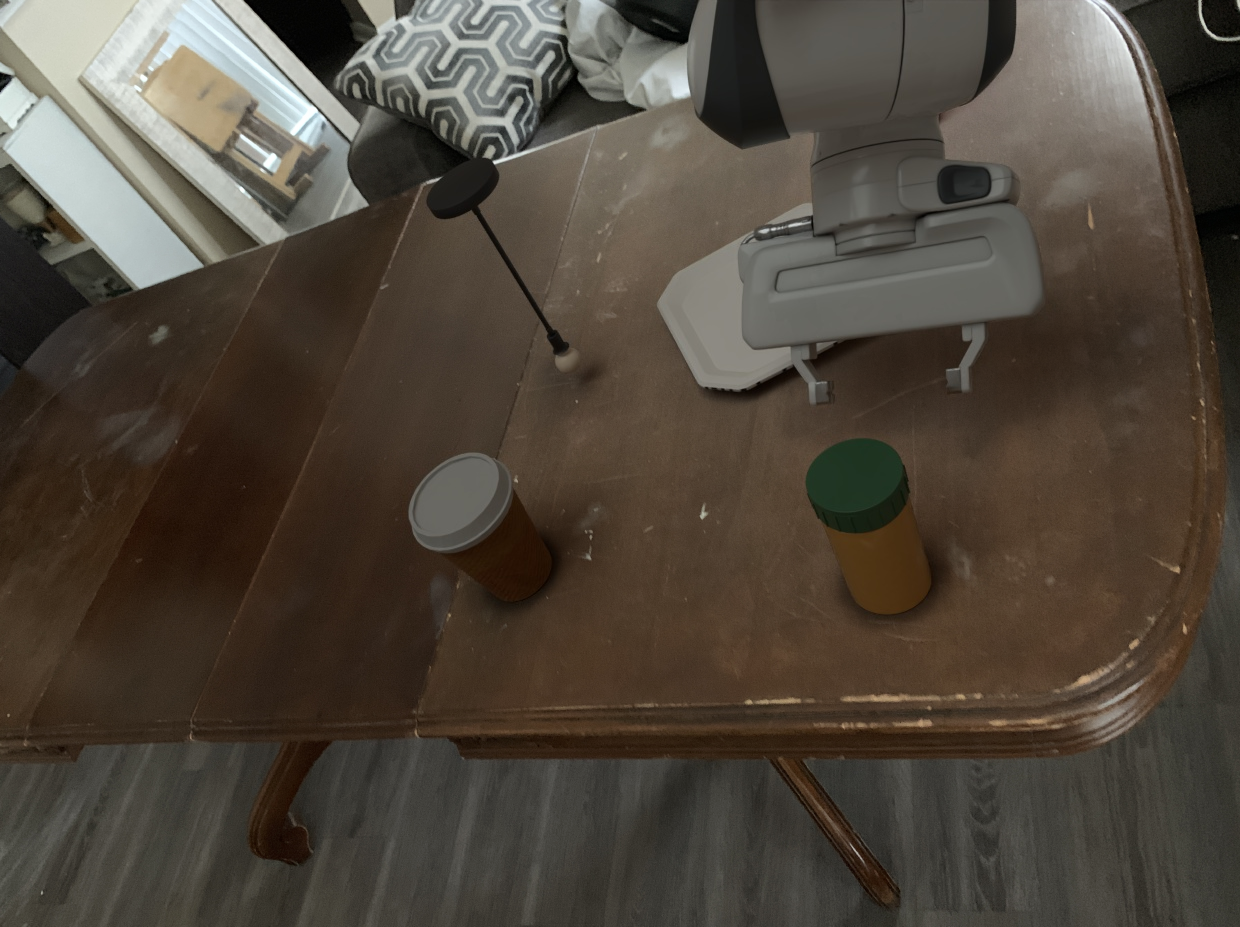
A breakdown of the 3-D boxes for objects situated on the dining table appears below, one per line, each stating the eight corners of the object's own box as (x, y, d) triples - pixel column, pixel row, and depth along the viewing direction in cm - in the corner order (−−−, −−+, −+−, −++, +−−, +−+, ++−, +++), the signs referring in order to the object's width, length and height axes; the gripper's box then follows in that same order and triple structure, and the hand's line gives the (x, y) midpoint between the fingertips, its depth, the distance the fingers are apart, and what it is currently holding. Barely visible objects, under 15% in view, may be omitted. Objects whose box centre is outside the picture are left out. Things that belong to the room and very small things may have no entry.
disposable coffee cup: (486, 635, 79) (411, 561, 70) (467, 560, 85) (397, 484, 77) (580, 585, 77) (515, 503, 69) (553, 512, 84) (491, 429, 76)
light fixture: (545, 384, 96) (418, 192, 79) (597, 349, 95) (481, 148, 78) (565, 417, 91) (436, 220, 74) (621, 381, 91) (503, 173, 73)
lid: (867, 445, 59) (860, 422, 58) (931, 493, 55) (925, 470, 53) (794, 499, 59) (785, 478, 58) (853, 551, 55) (845, 529, 53)
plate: (936, 309, 77) (932, 289, 75) (716, 420, 81) (709, 404, 80) (836, 203, 91) (831, 185, 90) (654, 303, 96) (646, 287, 94)
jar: (894, 535, 66) (861, 430, 58) (949, 581, 62) (922, 475, 54) (832, 580, 66) (791, 482, 58) (884, 629, 62) (847, 531, 54)
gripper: (721, 226, 66) (735, 414, 68) (1038, 161, 55) (1045, 388, 57) (749, 234, 71) (762, 409, 73) (1044, 176, 60) (1050, 384, 62)
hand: (888, 399), depth 65 cm, fingers open, 8 cm apart
